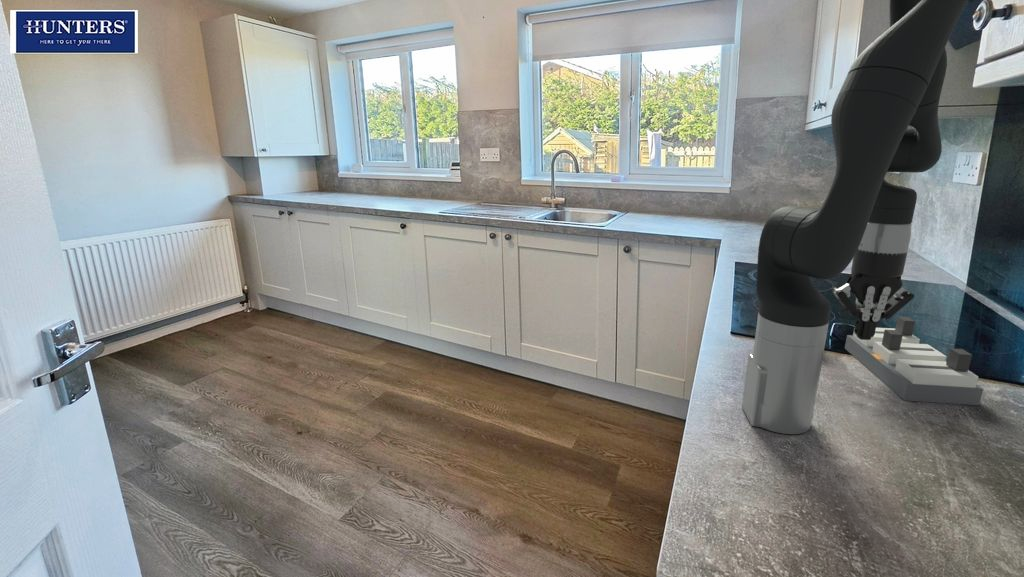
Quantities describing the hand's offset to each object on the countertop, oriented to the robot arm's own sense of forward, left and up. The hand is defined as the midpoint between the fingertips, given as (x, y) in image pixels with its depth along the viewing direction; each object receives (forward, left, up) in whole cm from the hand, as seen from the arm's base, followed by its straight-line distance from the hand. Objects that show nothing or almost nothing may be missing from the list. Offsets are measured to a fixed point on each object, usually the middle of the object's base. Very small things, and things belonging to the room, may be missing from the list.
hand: (863, 338), depth 92 cm
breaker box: (+8, 0, -7) cm, 10 cm away
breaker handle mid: (+5, 0, -2) cm, 5 cm away
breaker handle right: (+11, -8, -2) cm, 14 cm away
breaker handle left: (+11, +8, -2) cm, 13 cm away
